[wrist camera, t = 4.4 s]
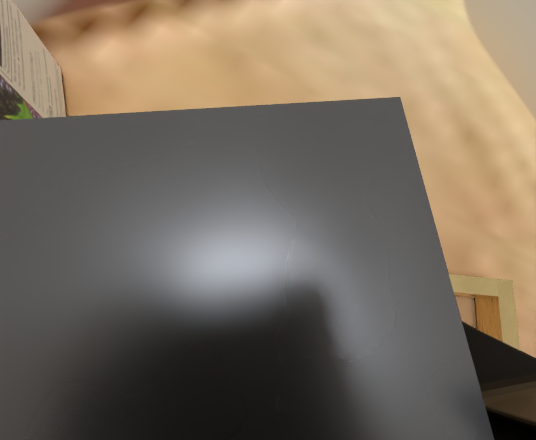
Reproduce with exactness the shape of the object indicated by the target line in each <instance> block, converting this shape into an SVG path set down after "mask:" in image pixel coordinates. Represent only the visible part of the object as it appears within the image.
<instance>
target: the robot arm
mask: <svg viewBox="0 0 536 440" xmlns="http://www.w3.org/2000/svg"><path fill="white" fill-rule="evenodd" d="M462 324H463V328H464V331H465V335H466V339H467V342H468V346H469V350H470V353H471V357H472V360H473V364H474V368H475V371H476V375H477V379H478V382H479V386H480V390H481V393H482V397H483V400H484V404H485V408H486V411H487V415H488V419H489V422H490V426H491V430H492V433H493V437H494V440H536V358H534V357H532V356H530V355H528V354H526V353H524V352H522V351H520V350H518V349H516V348H514V347H512V346H510V345H508V344H506V343H504V342H502V341H500V340H498V339H496V338H494V337H492V336H490V335H488V334H486V333H484V332H482V331H480V330H478V329H476V328H474V327H472V326H470V325H468V324H466V323H464V322H462Z"/></svg>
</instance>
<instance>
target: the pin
mask: <svg viewBox="0 0 536 440" xmlns="http://www.w3.org/2000/svg"><path fill="white" fill-rule="evenodd" d="M0 440H494V437H493V433H492V430H491V426H490V422H489V419H488V415H487V411H486V408H485V404H484V400H483V397H482V393H481V390H480V386H479V382H478V379H477V375H476V371H475V368H474V364H473V360H472V357H471V353H470V350H469V346H468V342H467V339H466V335H465V331H464V328H463V324H462V320H461V317H460V313H459V310H458V306H457V302H456V299H455V295H454V291H453V288H452V284H451V280H450V277H449V273H448V270H447V266H446V262H445V259H444V255H443V251H442V248H441V244H440V240H439V237H438V233H437V230H436V226H435V222H434V219H433V215H432V211H431V208H430V204H429V200H428V197H427V193H426V190H425V186H424V182H423V179H422V175H421V171H420V168H419V164H418V160H417V157H416V153H415V150H414V146H413V142H412V139H411V135H410V131H409V128H408V124H407V121H406V117H405V113H404V110H403V106H402V102H401V99H400V97H393V98H376V99H359V100H342V101H324V102H307V103H290V104H273V105H256V106H239V107H222V108H205V109H187V110H170V111H153V112H136V113H119V114H102V115H85V116H67V117H50V118H33V119H16V120H0Z"/></svg>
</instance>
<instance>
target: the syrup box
mask: <svg viewBox="0 0 536 440" xmlns="http://www.w3.org/2000/svg"><path fill="white" fill-rule="evenodd" d="M50 117H66V111H65V101H64V93H63V84H62V75H61V69H60V67H59V66H58V64H57V63H56V61H55V60H54V58H53V57H52V56H51V54H50V53H49V51H48V50H47V48H46V47H45V46H44V45H43V43H42V42H41V40H40V39H39V37H38V36H37V35H36V33H35V32H34V30H33V29H32V28H31V26H30V25H29V23H28V22H27V20H26V19H25V17H24V16H23V15H22V13H21V12H20V11H19V9H18V7H17V6H16V5H15V3H14V2H13V1H12V0H0V120H16V119H33V118H50Z"/></svg>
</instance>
